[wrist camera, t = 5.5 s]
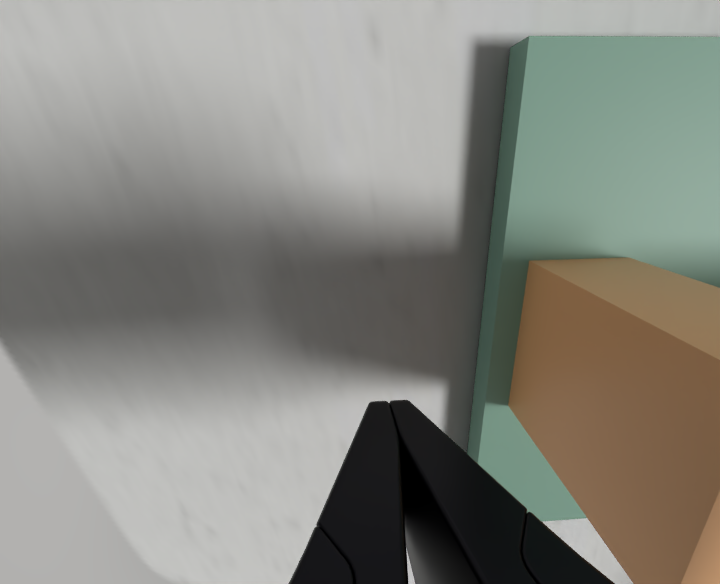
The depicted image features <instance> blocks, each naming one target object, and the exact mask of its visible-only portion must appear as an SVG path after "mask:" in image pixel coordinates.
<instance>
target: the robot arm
mask: <svg viewBox="0 0 720 584" xmlns="http://www.w3.org/2000/svg"><path fill="white" fill-rule="evenodd" d="M406 547H407V551H408V555H409V559H410V563H411V567H412V572H413V576H414V580H415V584H614V583H613V582H612V581H611V580H610V579H608V578H607V577H606V576H605V575H603V574H602V573H601V572H600V571H598V570H597V569H596V568H595V567H593V566H592V565H591V564H590V563H589V562H587V561H586V560H585V559H584V558H582V557H581V556H580V555H579V554H578V553H577V552H575V551H574V550H573V549H572V548H571V547H570V546H569V545H567V544H566V543H565V542H564V541H563V540H562V539H561V538H559V537H558V536H557V535H556V534H555V533H554V532H552V531H551V530H550V529H549V528H548V527H547V526H546V525H545V524H544V523H543V522H541V521H540V520H539V519H538V518H537V517H536V516H535V515H534V514H533V513H531V512H528V513H527V508H526V507H525V506H524V505H523V504H521V503H520V502H519V501H518V500H517V499H516V498H515V497H514V496H513V495H512V494H510V493H509V492H508V491H507V490H506V489H505V488H504V487H503V486H502V485H501V484H500V483H498V482H497V481H496V480H495V479H494V478H493V477H492V476H491V475H490V474H489V473H488V472H486V471H485V470H484V469H483V468H482V467H481V466H480V465H479V464H478V463H477V462H475V461H474V460H473V459H472V458H471V457H470V456H469V455H468V454H467V453H466V452H465V451H463V450H462V449H461V448H460V447H459V446H458V445H457V444H456V443H455V442H454V441H452V440H451V439H450V438H449V437H448V436H447V435H446V434H445V433H444V432H443V431H442V430H440V429H439V428H438V427H437V426H436V425H435V424H434V423H433V422H432V421H431V420H429V419H428V418H427V417H426V416H425V415H424V414H423V413H422V412H421V411H420V410H419V409H417V408H416V407H415V406H414V405H413V404H412V403H411V402H410V401H408V400H395V401H390V403H388V402H387V401H375V402H370V403H369V404H368V407H367V409H366V411H365V413H364V416H363V418H362V420H361V423H360V425H359V427H358V430H357V432H356V434H355V437H354V439H353V441H352V443H351V446H350V448H349V450H348V453H347V455H346V457H345V460H344V462H343V464H342V466H341V469H340V471H339V473H338V476H337V478H336V480H335V483H334V485H333V487H332V489H331V492H330V494H329V496H328V499H327V501H326V503H325V506H324V508H323V510H322V513H321V515H320V517H319V519H318V522H317V527H315V528H314V530H313V533H312V535H311V537H310V540H309V542H308V544H307V546H306V549H305V551H304V553H303V555H302V557H301V559H300V561H299V563H298V566H297V568H296V570H295V572H294V574H293V576H292V578H291V580H290V582H289V584H408V571H407V554H406Z"/></svg>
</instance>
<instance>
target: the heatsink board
mask: <svg viewBox="0 0 720 584" xmlns="http://www.w3.org/2000/svg"><path fill="white" fill-rule="evenodd" d="M626 257H629V258H632V259H635V260H638V261H641V262H644V263H647V264H650V265H653V266H656V267H659V268H662V269H665V270H668V271H671V272H674V273H677V274H680V275H683V276H686V277H689V278H692V279H695V280H698V281H701V282H704V283H707V284H710V285H713V286H716V287H719V288H720V37H640V36H529V37H527V38H525V39H524V40H522V41H521V42H519V43H517V44H516V45H514V46H513V47H511V48H510V56H509V65H508V75H507V84H506V93H505V103H504V112H503V122H502V131H501V140H500V150H499V159H498V168H497V178H496V187H495V197H494V206H493V215H492V225H491V234H490V244H489V253H488V262H487V272H486V281H485V291H484V300H483V309H482V319H481V328H480V337H479V347H478V356H477V366H476V375H475V384H474V394H473V403H472V413H471V422H470V431H469V441H468V450H467V454H468V455H469V456H470V457H471V458H472V459H473V460H474V461H475V462H477V463H478V464H479V465H480V466H481V467H482V468H483V469H484V470H485V471H486V472H488V473H489V474H490V475H491V476H492V477H493V478H494V479H495V480H496V481H497V482H498V483H500V484H501V485H502V486H503V487H504V488H505V489H506V490H507V491H508V492H509V493H510V494H512V495H513V496H514V497H515V498H516V499H517V500H518V501H519V502H520V503H521V504H523V505H524V506H525V507H526V508H527V513H528V512H531V513H533V514H534V515H535V516H536V517H537V518H538V519H539V520H540V521H554V520H568V519H581V518H587V517H586V515H585V514H584V513H583V511H582V510H581V508H580V507H579V505H578V504H577V503H576V501H575V500H574V498H573V497H572V496H571V494H570V493H569V491H568V490H567V488H566V487H565V486H564V484H563V483H562V481H561V480H560V479H559V477H558V476H557V474H556V473H555V471H554V470H553V469H552V467H551V466H550V464H549V463H548V462H547V460H546V459H545V457H544V456H543V454H542V453H541V452H540V450H539V449H538V447H537V446H536V445H535V443H534V442H533V440H532V439H531V437H530V436H529V435H528V433H527V432H526V430H525V429H524V428H523V426H522V425H521V423H520V422H519V420H518V419H517V418H516V416H515V415H514V413H513V412H512V411H511V409H510V408H509V406H508V403H509V396H510V389H511V382H512V376H513V369H514V362H515V355H516V348H517V341H518V334H519V328H520V321H521V314H522V307H523V300H524V293H525V286H526V280H527V273H528V266H529V261H533V260H564V259H595V258H626Z"/></svg>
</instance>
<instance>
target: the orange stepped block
mask: <svg viewBox="0 0 720 584" xmlns="http://www.w3.org/2000/svg"><path fill="white" fill-rule="evenodd" d="M508 406H509V408H510V409H511V411H512V412H513V413H514V415H515V416H516V418H517V419H518V420H519V422H520V423H521V425H522V426H523V428H524V429H525V430H526V432H527V433H528V435H529V436H530V437H531V439H532V440H533V442H534V443H535V445H536V446H537V447H538V449H539V450H540V452H541V453H542V454H543V456H544V457H545V459H546V460H547V462H548V463H549V464H550V466H551V467H552V469H553V470H554V471H555V473H556V474H557V476H558V477H559V479H560V480H561V481H562V483H563V484H564V486H565V487H566V488H567V490H568V491H569V493H570V494H571V496H572V497H573V498H574V500H575V501H576V503H577V504H578V505H579V507H580V508H581V510H582V511H583V513H584V514H585V515H586V517H587V518H588V520H589V521H590V522H591V524H592V525H593V527H594V528H595V530H596V531H597V532H598V534H599V535H600V537H601V538H602V539H603V541H604V542H605V544H606V545H607V547H608V548H609V549H610V551H611V552H612V554H613V555H614V556H615V558H616V559H617V561H618V562H619V564H620V565H621V566H622V568H623V569H624V571H625V572H626V573H627V575H628V576H629V578H630V579H631V581H632V582H633V583H634V584H720V288H719V287H716V286H713V285H710V284H707V283H704V282H701V281H698V280H695V279H692V278H689V277H686V276H683V275H680V274H677V273H674V272H671V271H668V270H665V269H662V268H659V267H656V266H653V265H650V264H647V263H644V262H641V261H638V260H635V259H632V258H629V257H626V258H595V259H564V260H533V261H529V266H528V273H527V280H526V286H525V293H524V300H523V307H522V314H521V321H520V328H519V334H518V341H517V348H516V355H515V362H514V369H513V376H512V382H511V389H510V396H509V403H508Z"/></svg>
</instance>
